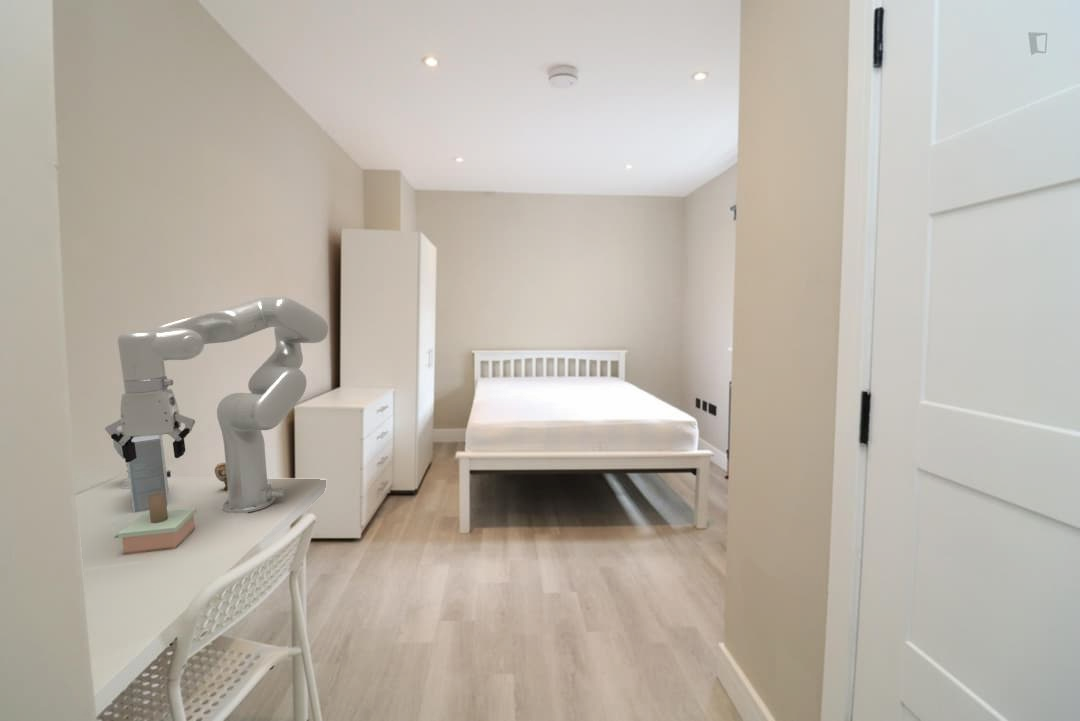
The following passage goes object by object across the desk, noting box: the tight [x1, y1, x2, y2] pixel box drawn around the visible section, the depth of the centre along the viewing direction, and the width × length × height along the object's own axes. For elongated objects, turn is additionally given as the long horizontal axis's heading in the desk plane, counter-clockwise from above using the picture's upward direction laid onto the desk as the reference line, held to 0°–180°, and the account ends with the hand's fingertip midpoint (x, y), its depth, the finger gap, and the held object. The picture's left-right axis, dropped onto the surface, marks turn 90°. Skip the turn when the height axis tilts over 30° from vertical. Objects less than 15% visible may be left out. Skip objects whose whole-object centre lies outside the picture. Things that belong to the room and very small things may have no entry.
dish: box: [121, 514, 196, 555], centre depth 114 cm, size 10×10×4 cm
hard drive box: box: [126, 435, 169, 513], centre depth 138 cm, size 16×8×20 cm, turn 37°
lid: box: [117, 493, 197, 539], centre depth 114 cm, size 11×11×7 cm
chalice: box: [112, 427, 130, 490], centre depth 151 cm, size 7×7×18 cm
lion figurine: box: [214, 462, 228, 490], centre depth 151 cm, size 15×5×9 cm, turn 163°
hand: (155, 458), depth 113 cm, fingers open, 9 cm apart
